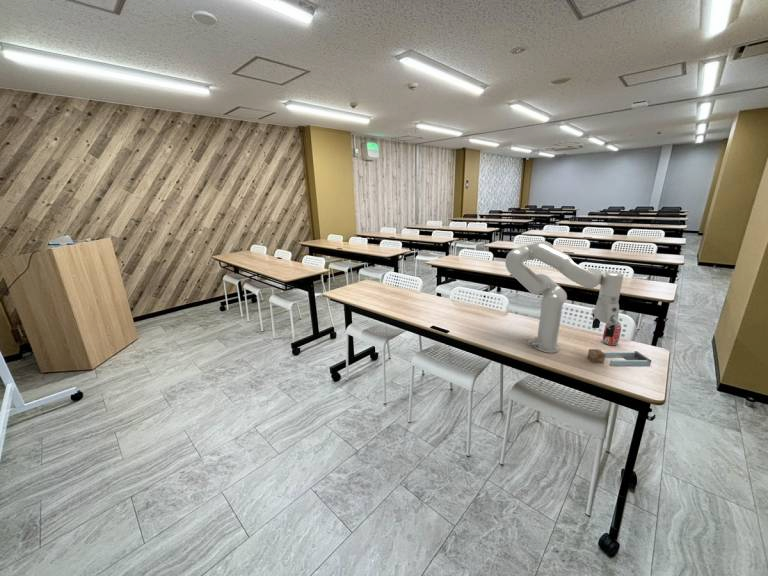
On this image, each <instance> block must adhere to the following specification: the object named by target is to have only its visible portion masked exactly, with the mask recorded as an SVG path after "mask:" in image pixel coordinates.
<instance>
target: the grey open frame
mask: <svg viewBox="0 0 768 576" xmlns="http://www.w3.org/2000/svg"><path fill="white" fill-rule="evenodd" d="M602 352H603V353H604V354H606V355H605V358H622V359H610V362H609V366H610V367H651V363H652V359H650V358H649V357H647V356H645V354H644V355H643V354H642V353H641V352H639V351H636V350H634V351H602Z"/></svg>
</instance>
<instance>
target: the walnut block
mask: <svg viewBox="0 0 768 576" xmlns="http://www.w3.org/2000/svg"><path fill="white" fill-rule="evenodd" d="M603 352H604V351H602V350H601V348H600V349H596V348H595V349H594V348H593V349H592V348H590V349H588V352H587V357H586V358H587V359H588V360H589V361H590V362H591V363H592V364H604V363H605V360H606V359H605V358H606V357H605V355H606V354H604V353H603Z"/></svg>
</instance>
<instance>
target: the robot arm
mask: <svg viewBox="0 0 768 576" xmlns="http://www.w3.org/2000/svg"><path fill="white" fill-rule="evenodd" d="M531 260H537V261H539V262H541V263H543V264H546V265H547V266H549V267H551V268H553V269H555V270H556V271H558V272H559V273H560V274H561V275H562V276H564V277H566V278H567V279H569V280H570V281H572V282H573V283H575V284H578V285H579V286H582V287H583V288H587V289H593V288H596V287H597V286H599V285H600V287H599V292H598V293H599V294H598V298H597V301H596V305H595V308H594V309H592V310H591V312H592V316H591V317H592V325H591V328H592V329H599V328H600V325H601V322H602V323H604V324H605V325H606V324H607V327H608V328H607V329H606V334H605V336H606V337H613V334H614V329H616V328H617V327H618V325H619V323H620V321H619V313H620V304H619V300H620V295H621V289H622V285H623V280H624V274H623V273H621V272H619V271H609V270H603V269H599V268H589V269H586V268H584V267H582V266H580V265H579V264H577V262H574V260H573V259H572V257H571V256H570V255H569V254H567V253H565V252H563V251H561V250H558V249H556V248H555V247H554V246H553V244H552V243H551V242H548V241H544V240H543V241H540V242H539V241H538V242H535V243H530V244H526V245H523V246H519V247H516V248H514V249H512V250H510V251H509V252H508V253H507V255H506V257H505V262H504V263H505V265H504V266H505V268H506V270H507V272H508V273H509V274H510V275H511V276H512V277H513V278H515V279H516V280H517V281H518V282H519V283H520V284H521V286H523V287H524V288H525V289H526V290H528V292H529V293H530V294H533V295H535V296H536V295H539V296H540V295H542V298H541V300H540V312H539V313H540V315H539V322H538V329H537V336H536V337H535V338H533V339H527V344H531V346H532V347H534V348H535V349H536V350H538V351H541V352H543V353H549V354H550V353H552V354H553V353H555V354H556V353H558V352H559V351H560V346H559V345H558V344H557V343H558V338H559V332H560V326H561V325H560V324H561V318H562V310H563V305H564V304H565V303H566V301H567V299H568V295H567V292H566V290H564V289H563V288H562V287H561V286H560V285H559V284H557V282H555V281H554V280H553V279H552V278H551V277H549V276H548V275H546V274H543V273H538V274H536V273H535V272H534V271H532V269H531V268H529V267H528V266H526V265H525V264H524V263H525V262H527V261H531ZM610 324H612V326H610Z"/></svg>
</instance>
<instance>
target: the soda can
mask: <svg viewBox="0 0 768 576" xmlns="http://www.w3.org/2000/svg"><path fill="white" fill-rule="evenodd" d="M610 326H612V324H610ZM607 328H608V327H607V324H606V323H605V326H604V330H603V335H602V342H603V343H604V344H606V345H608V346H617V345H618V344H619V341H620V338H621V333H622V332H621V331H622V326H621V322H619V325H618V327H617V328H616V329H614V334H613V337H606V336H605V334H606V329H607Z"/></svg>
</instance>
